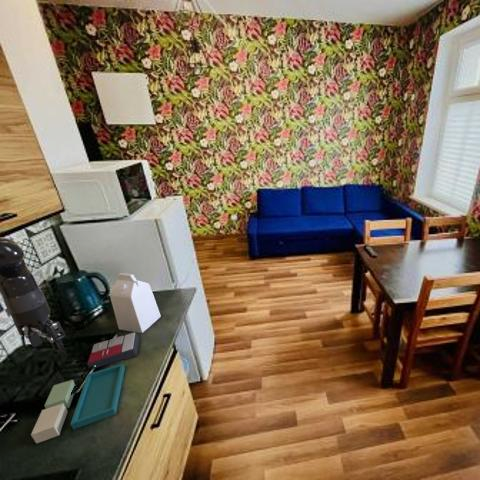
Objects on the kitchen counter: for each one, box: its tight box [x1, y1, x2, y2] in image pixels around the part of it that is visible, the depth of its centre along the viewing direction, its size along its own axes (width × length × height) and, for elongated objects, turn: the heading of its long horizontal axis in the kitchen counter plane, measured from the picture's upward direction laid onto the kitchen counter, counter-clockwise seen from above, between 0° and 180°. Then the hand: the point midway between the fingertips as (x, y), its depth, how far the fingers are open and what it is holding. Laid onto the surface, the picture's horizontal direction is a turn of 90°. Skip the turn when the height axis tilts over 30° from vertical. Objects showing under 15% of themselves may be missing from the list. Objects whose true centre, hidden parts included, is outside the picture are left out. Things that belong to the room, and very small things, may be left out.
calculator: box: [86, 332, 140, 370], centre depth 106 cm, size 11×4×15 cm
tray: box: [70, 363, 126, 430], centre depth 90 cm, size 11×20×2 cm, turn 27°
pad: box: [30, 404, 69, 444], centre depth 80 cm, size 5×8×4 cm, turn 27°
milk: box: [109, 272, 162, 334], centre depth 119 cm, size 12×12×26 cm
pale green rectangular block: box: [43, 379, 76, 409], centre depth 88 cm, size 5×8×4 cm, turn 27°
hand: (48, 347), depth 83 cm, fingers open, 8 cm apart
